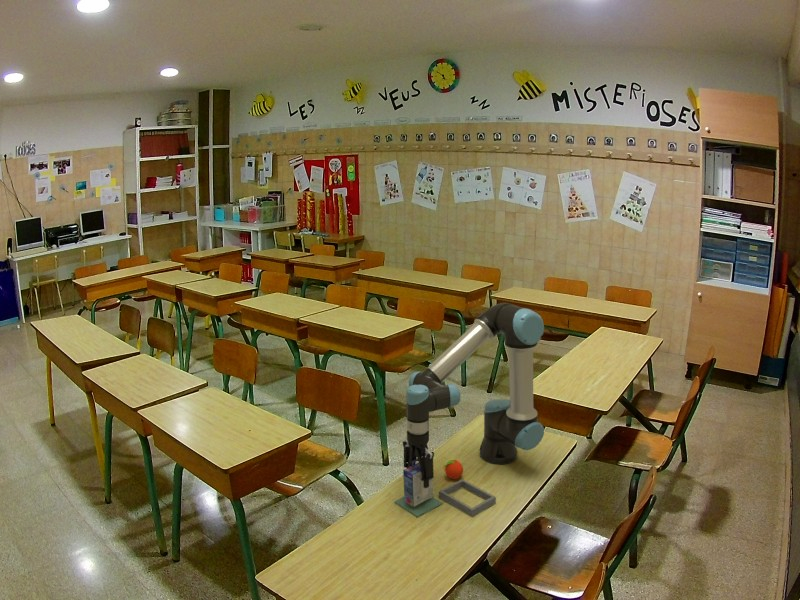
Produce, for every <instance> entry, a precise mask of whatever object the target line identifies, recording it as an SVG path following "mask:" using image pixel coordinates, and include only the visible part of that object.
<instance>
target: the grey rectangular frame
mask: <svg viewBox="0 0 800 600" xmlns="http://www.w3.org/2000/svg"><path fill="white" fill-rule="evenodd" d="M462 488H463V489H465V490H467V491H469V492H471V493H472V494H473V495H476V496H478V497H479V498H481V499H483V500H484V501H482V502H480V503H478V504H476V505H475V506H473V507H472V506H469V505H468V504H466V503H464V502H462V501H461V500H460V499H457V498H455V497H454V496H452V495H451V494H453V493H455V492H456V491H458V490H460V489H462ZM438 498H440V499H441V500H443V501H444V502H446V503H448V504H449V505H452V506H453V507H454V508H457V509H458V510H459V511H461V512H463V513H464V514H466V515H469V516H470V517H471V518H473V517H474V516H477V515H478V514H479V513H482V512H483V511H485V510H487V509H489V508H490V507H492V506H494V505H495V504H496V501H497V497H496V496H494V495H493V494H491V493H489V492H487V491H486V490H484V489H482V488H480V487H478V486H476V485H475V484H472V483H470V482H469V481H467V480H465V479H463V478H462V479H460V480H458V481H456V482H454V483H452V484H450V485H448V486H446V487H444V488H443V489H442V488H441V489H440V490H438Z"/></svg>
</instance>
